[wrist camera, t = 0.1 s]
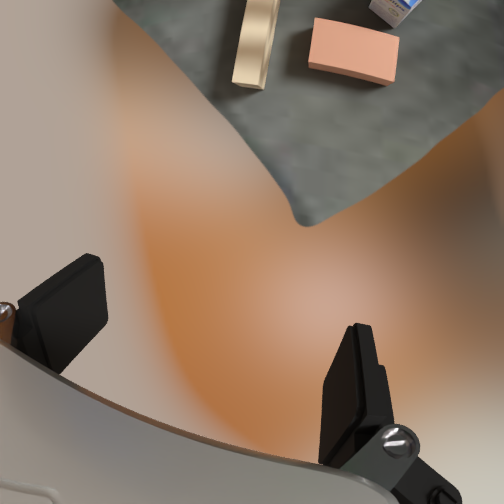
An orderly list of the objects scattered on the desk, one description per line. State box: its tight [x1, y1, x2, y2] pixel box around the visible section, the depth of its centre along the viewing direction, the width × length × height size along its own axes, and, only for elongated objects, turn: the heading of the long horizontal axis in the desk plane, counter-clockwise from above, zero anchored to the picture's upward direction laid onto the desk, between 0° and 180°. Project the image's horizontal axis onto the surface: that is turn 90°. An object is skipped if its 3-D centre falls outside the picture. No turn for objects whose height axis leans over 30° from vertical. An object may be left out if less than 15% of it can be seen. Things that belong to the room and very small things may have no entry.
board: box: [232, 0, 280, 90], centre depth 29 cm, size 20×3×4 cm, turn 171°
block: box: [308, 18, 399, 86], centre depth 29 cm, size 6×10×4 cm, turn 82°
